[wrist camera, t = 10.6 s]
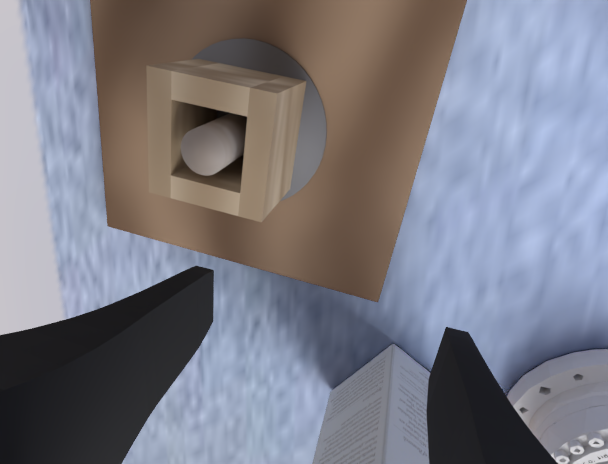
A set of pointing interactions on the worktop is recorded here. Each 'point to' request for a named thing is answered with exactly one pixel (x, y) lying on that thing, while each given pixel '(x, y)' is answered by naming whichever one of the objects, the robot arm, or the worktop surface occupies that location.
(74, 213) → the worktop surface
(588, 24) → the worktop surface
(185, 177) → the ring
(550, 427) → the mechanical component
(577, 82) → the worktop surface
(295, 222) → the post board
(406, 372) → the skincare box
